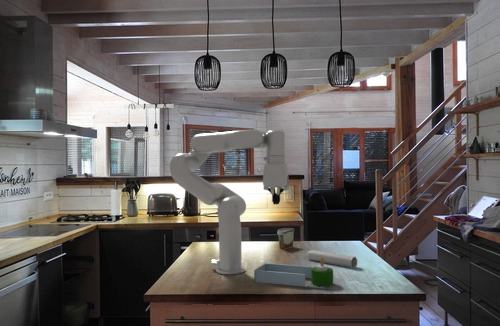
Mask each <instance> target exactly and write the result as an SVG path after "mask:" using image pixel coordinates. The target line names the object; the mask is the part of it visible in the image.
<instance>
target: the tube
mask: <svg viewBox="0 0 500 326" xmlns="http://www.w3.org/2000/svg"><path fill="white" fill-rule="evenodd" d="M306 258H307V259H308V261H312V262H313V261H314V262H316V263H317V262H319V263H321V262H320V259H321V258H323V259H324V264H328V265H332V264H333V266H337V267H342V268H343V267H344V268H348V269H356V268H357V266H358V258H357V257H356V256H352V255H344V254H339V253H332V252H327V251H321V250H315V249H311V250H309V251H307V254H306Z"/></svg>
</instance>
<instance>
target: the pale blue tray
mask: <svg viewBox="0 0 500 326" xmlns="http://www.w3.org/2000/svg"><path fill="white" fill-rule="evenodd" d="M311 268H313V267H312V266H311V265H310V266H308V265H307V266H306V265H295V264H283V263H282V264H281V263H271V262H270V263H268V262H263V263H262V264H261V265H259V266H257V268H255V269H254V270H253V271H254V273H253V277H254V278H253V279H254V280H253V282H254V283H261V284H272V285H273V284H274V285H283V286H284V285H285V286H293V287H304V288H305V287H306V279H311Z"/></svg>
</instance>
